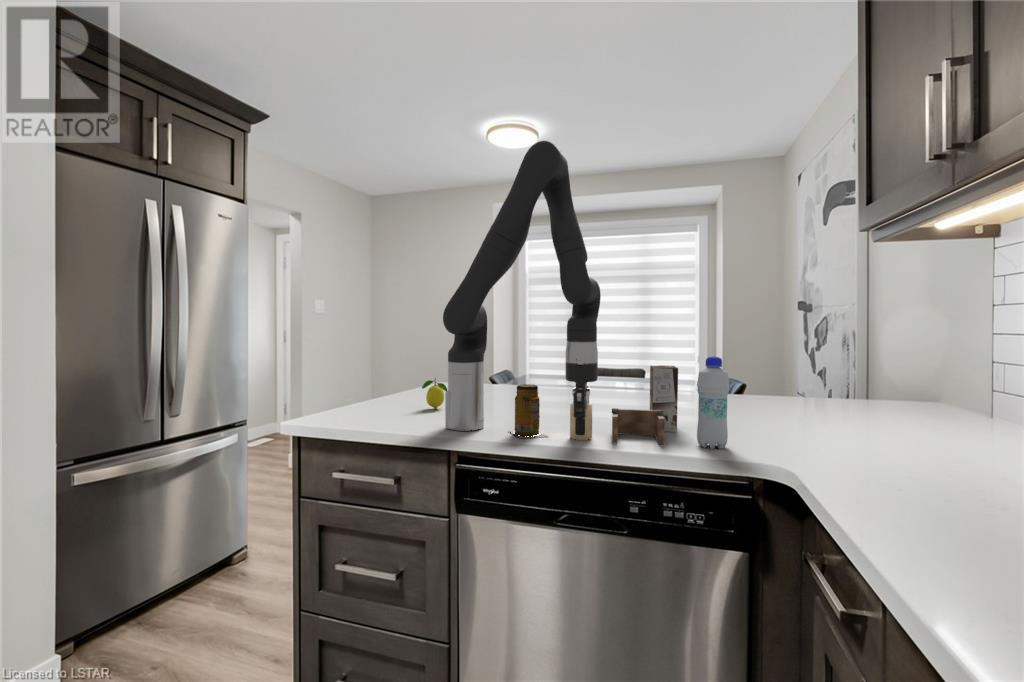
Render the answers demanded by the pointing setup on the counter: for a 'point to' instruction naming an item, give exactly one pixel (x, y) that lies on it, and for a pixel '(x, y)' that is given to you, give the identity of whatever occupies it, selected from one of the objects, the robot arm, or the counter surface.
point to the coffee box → (665, 394)
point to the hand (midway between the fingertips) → (581, 431)
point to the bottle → (712, 404)
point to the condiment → (527, 412)
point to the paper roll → (587, 423)
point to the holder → (638, 423)
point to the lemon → (435, 393)
